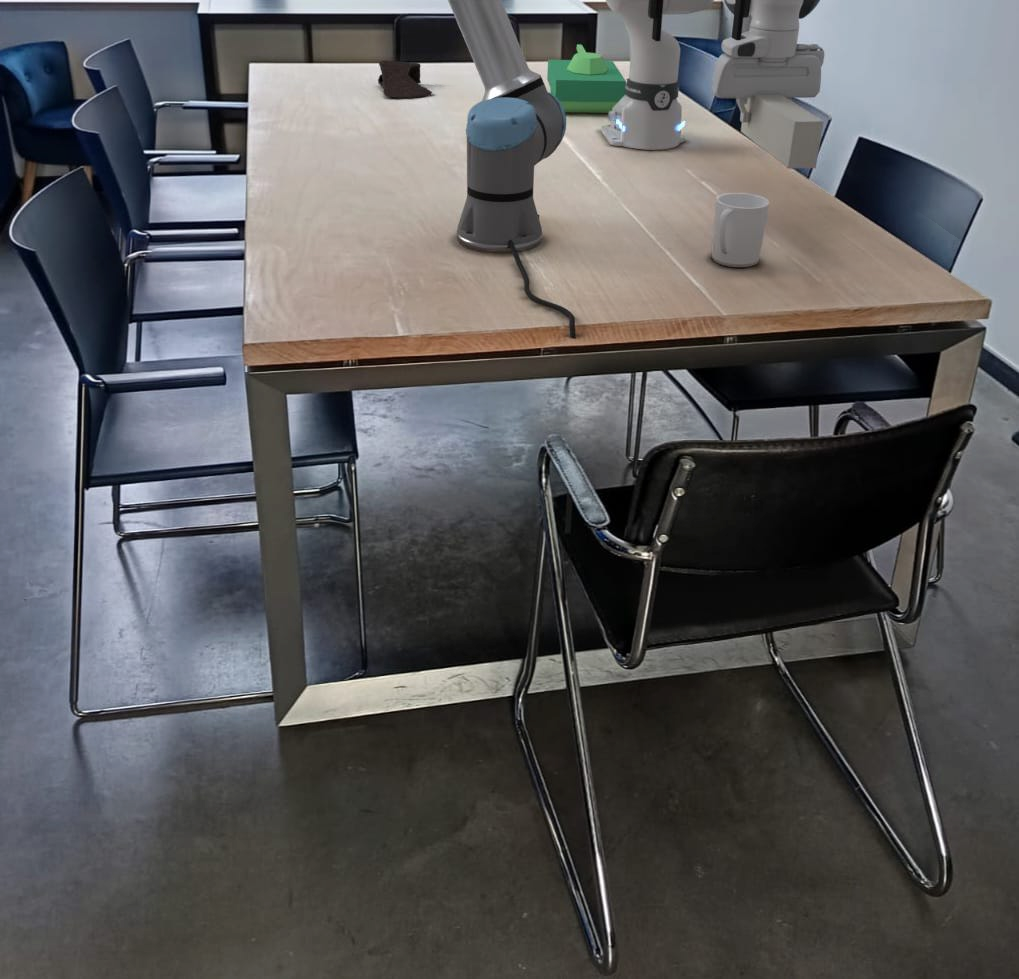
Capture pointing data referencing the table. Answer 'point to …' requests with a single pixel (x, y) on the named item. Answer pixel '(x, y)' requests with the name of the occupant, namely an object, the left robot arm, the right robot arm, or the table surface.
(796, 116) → the bar
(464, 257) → the table surface
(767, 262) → the table surface
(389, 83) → the axe head
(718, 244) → the mug
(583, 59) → the toy tank
